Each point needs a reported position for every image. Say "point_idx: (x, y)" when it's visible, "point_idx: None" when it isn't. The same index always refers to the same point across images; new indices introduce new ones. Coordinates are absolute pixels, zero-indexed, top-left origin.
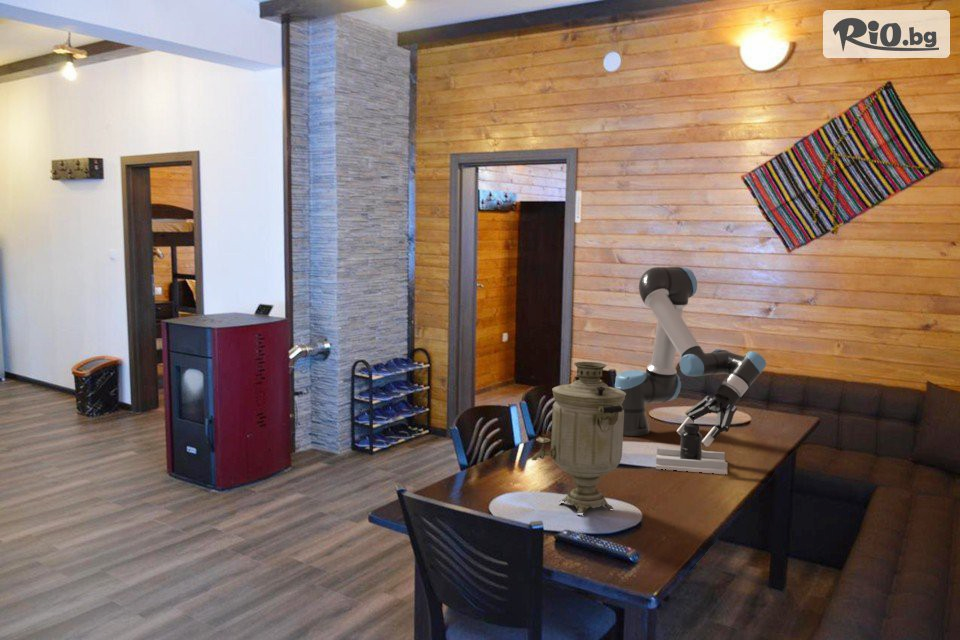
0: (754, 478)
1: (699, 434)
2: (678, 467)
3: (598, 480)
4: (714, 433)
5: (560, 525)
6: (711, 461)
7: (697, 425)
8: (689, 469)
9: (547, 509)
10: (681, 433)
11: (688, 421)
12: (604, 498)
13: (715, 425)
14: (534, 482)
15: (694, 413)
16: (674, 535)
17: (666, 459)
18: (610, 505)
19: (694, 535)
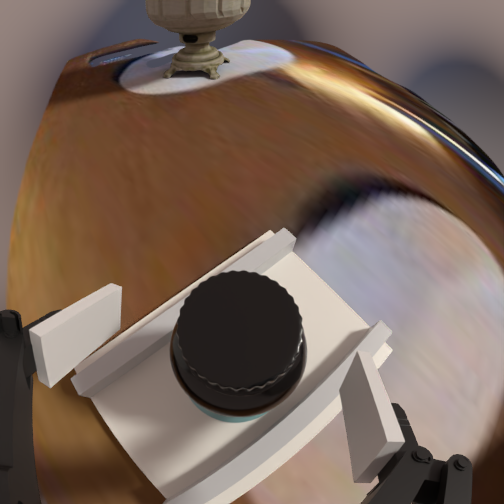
0: None
1: (180, 358)
2: (210, 271)
3: (181, 38)
4: (47, 318)
5: None
6: (121, 356)
7: (195, 348)
8: (179, 295)
9: (222, 53)
10: (347, 382)
11: (370, 430)
12: (174, 61)
13: (18, 315)
14: (315, 77)
15: (379, 487)
16: (74, 91)
17: (257, 247)
18: (167, 71)
19: (56, 102)
